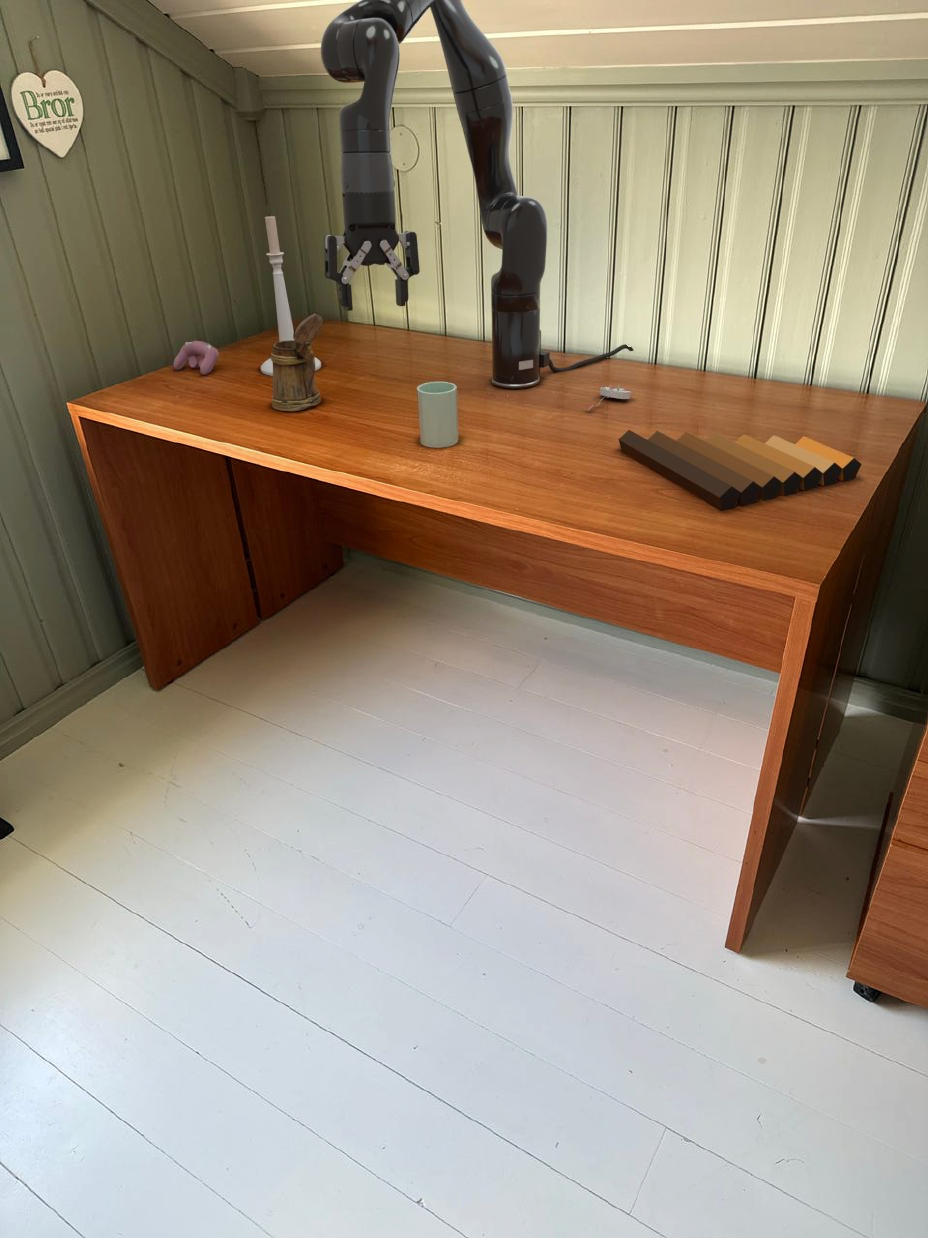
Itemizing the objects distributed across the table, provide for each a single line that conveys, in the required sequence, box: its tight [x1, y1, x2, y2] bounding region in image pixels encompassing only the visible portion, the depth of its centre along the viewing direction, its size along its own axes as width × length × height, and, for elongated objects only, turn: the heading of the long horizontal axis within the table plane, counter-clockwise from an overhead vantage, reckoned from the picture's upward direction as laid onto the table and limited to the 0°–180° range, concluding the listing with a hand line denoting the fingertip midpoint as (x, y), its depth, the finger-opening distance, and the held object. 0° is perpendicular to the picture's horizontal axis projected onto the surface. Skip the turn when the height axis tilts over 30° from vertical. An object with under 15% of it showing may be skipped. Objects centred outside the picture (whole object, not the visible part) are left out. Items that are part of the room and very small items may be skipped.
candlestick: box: [260, 214, 322, 377], centre depth 173 cm, size 13×13×30 cm
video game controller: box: [172, 340, 220, 376], centre depth 180 cm, size 10×5×7 cm, turn 58°
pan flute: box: [618, 429, 862, 512], centre depth 127 cm, size 25×3×25 cm
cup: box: [416, 381, 460, 449], centre depth 138 cm, size 6×6×9 cm
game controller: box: [587, 384, 632, 413], centre depth 153 cm, size 6×12×3 cm, turn 158°
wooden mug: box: [270, 311, 324, 412], centre depth 153 cm, size 9×14×18 cm, turn 47°
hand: (374, 307), depth 128 cm, fingers open, 8 cm apart
